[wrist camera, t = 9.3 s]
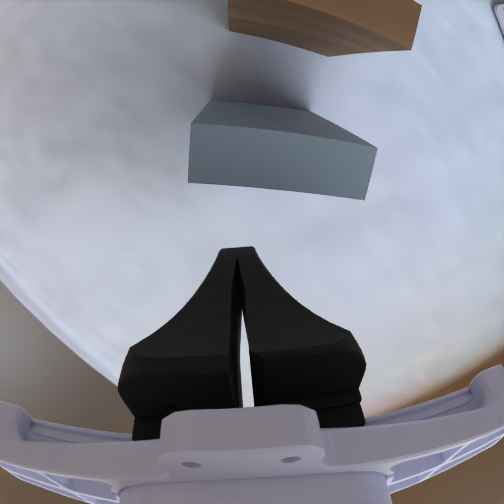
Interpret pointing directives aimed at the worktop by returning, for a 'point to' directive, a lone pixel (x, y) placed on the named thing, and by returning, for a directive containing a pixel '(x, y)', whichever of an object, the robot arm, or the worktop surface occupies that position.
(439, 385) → the worktop surface
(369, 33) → the domino
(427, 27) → the worktop surface
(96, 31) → the worktop surface
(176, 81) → the worktop surface
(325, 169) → the placed domino
